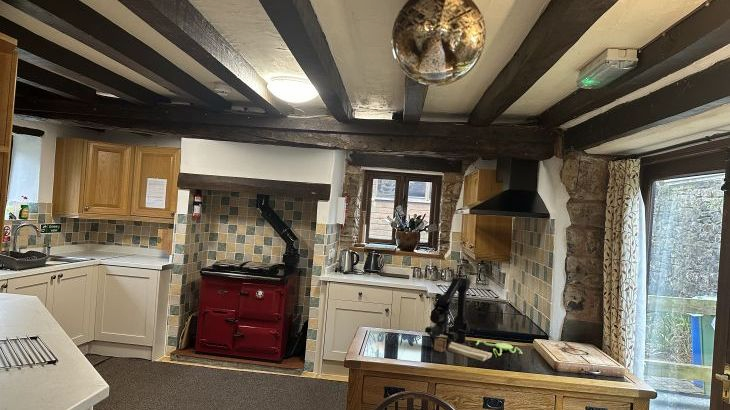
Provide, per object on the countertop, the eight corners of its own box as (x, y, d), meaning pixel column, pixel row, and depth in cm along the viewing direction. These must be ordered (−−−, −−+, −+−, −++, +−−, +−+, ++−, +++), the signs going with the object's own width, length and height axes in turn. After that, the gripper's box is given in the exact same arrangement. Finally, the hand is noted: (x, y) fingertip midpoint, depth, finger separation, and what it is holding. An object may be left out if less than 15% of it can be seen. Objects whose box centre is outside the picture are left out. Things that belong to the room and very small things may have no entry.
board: (447, 344, 284) (447, 340, 284) (491, 356, 267) (492, 353, 267) (437, 347, 275) (438, 344, 275) (482, 361, 257) (483, 357, 257)
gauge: (446, 345, 282) (447, 335, 282) (454, 347, 279) (454, 337, 279) (433, 350, 270) (434, 339, 270) (440, 352, 267) (441, 341, 267)
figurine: (471, 348, 281) (471, 339, 281) (503, 345, 293) (504, 337, 293) (492, 358, 265) (493, 348, 265) (525, 355, 278) (526, 345, 278)
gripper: (421, 318, 270) (418, 346, 270) (450, 326, 259) (447, 354, 259) (431, 316, 279) (428, 342, 279) (459, 323, 267) (457, 351, 267)
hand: (440, 347), depth 271 cm, fingers open, 8 cm apart
